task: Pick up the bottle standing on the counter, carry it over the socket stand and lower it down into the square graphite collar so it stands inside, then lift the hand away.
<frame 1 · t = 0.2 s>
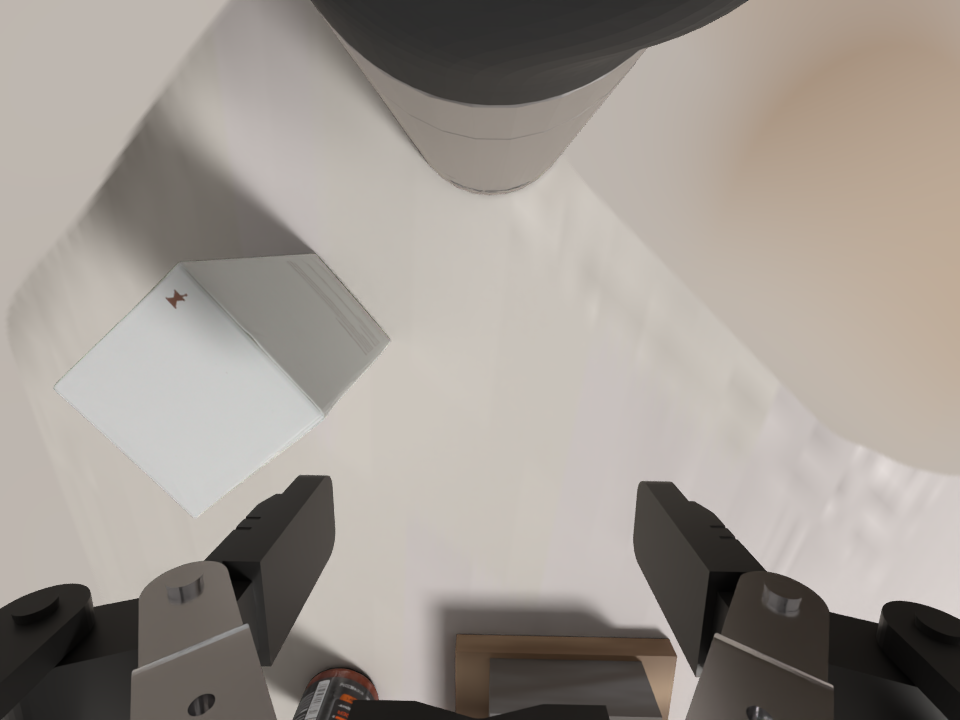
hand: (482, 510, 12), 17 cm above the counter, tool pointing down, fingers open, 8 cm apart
supplement bottle: (344, 691, 36), on the counter
socket stand: (558, 698, 35), on the counter
supplement box: (315, 333, 29), on the counter
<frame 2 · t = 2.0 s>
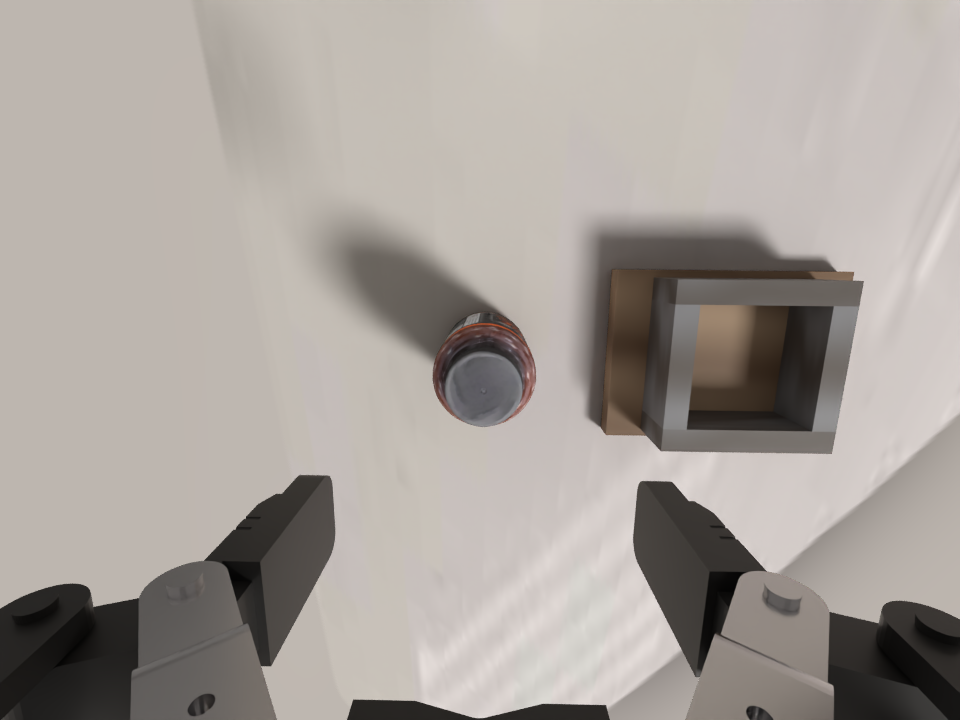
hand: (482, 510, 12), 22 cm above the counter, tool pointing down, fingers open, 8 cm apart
supplement bottle: (485, 349, 34), on the counter
socket stand: (714, 352, 33), on the counter
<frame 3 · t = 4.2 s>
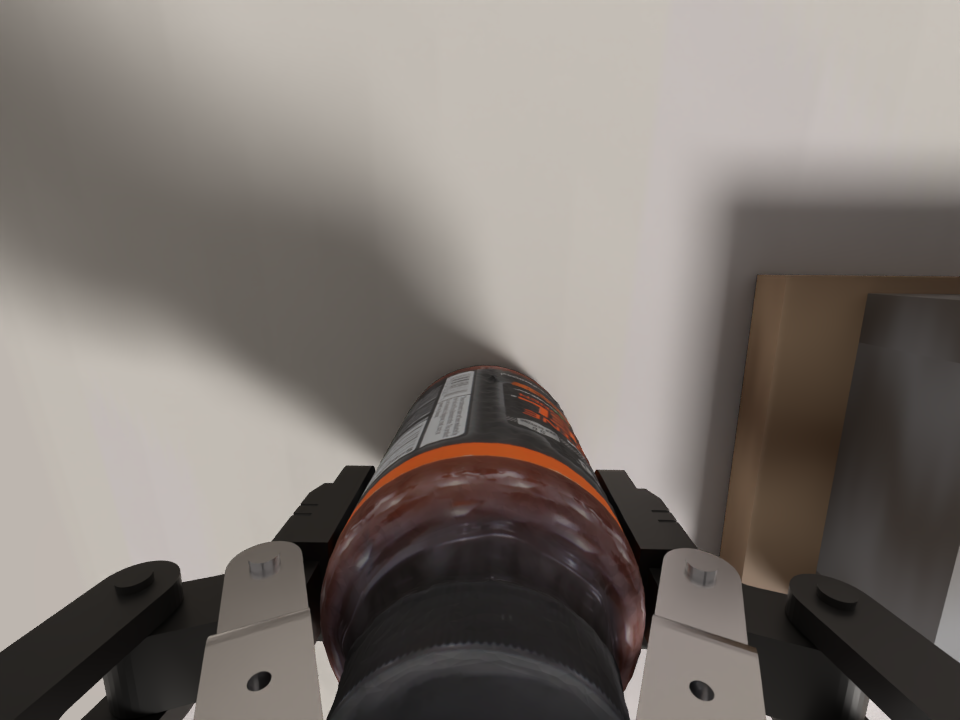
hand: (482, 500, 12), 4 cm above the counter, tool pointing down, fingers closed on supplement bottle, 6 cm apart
supplement bottle: (485, 437, 17), on the counter, touching gripper
socket stand: (959, 447, 16), on the counter
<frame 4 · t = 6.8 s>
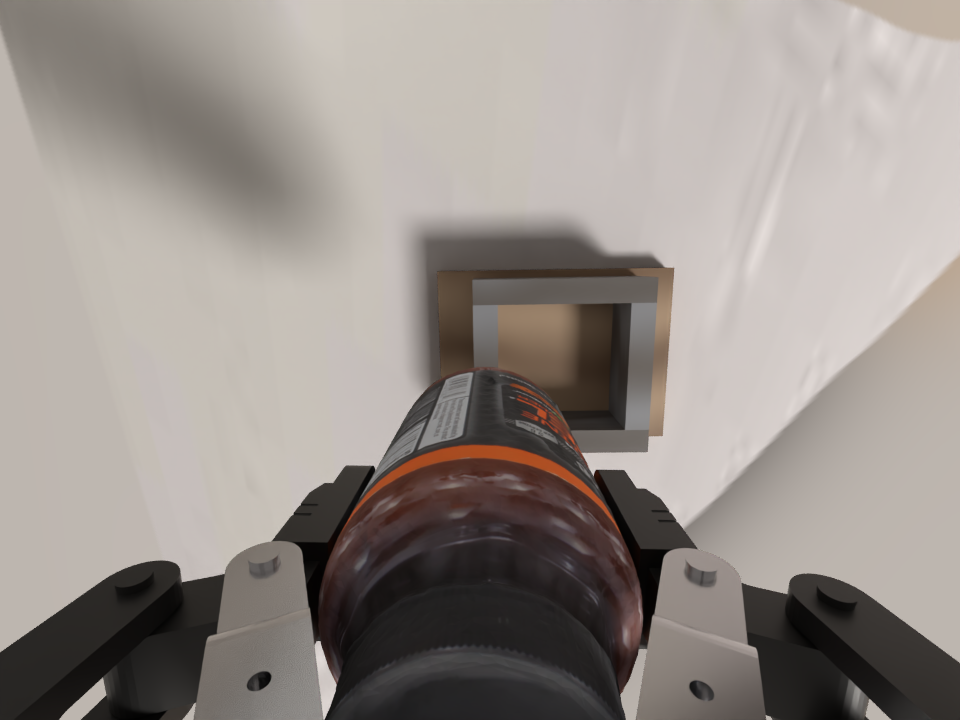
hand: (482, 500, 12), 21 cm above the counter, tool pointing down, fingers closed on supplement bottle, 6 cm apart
supplement bottle: (484, 439, 17), point 17 cm above the counter, touching gripper
socket stand: (550, 352, 33), on the counter
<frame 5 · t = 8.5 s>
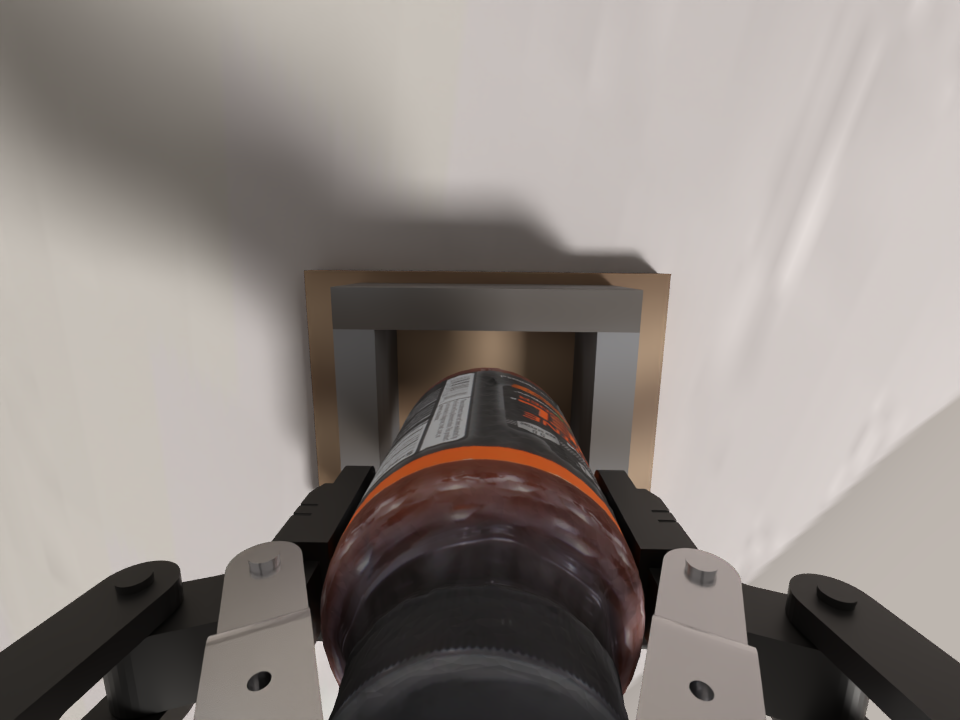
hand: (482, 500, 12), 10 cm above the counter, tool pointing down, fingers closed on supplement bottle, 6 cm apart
supplement bottle: (485, 439, 17), point 6 cm above the counter, touching gripper
socket stand: (484, 394, 22), on the counter
when the fingers open (7 cm above the counter, at t = 9.7 s): supplement bottle drops 1 cm, resting on socket stand.
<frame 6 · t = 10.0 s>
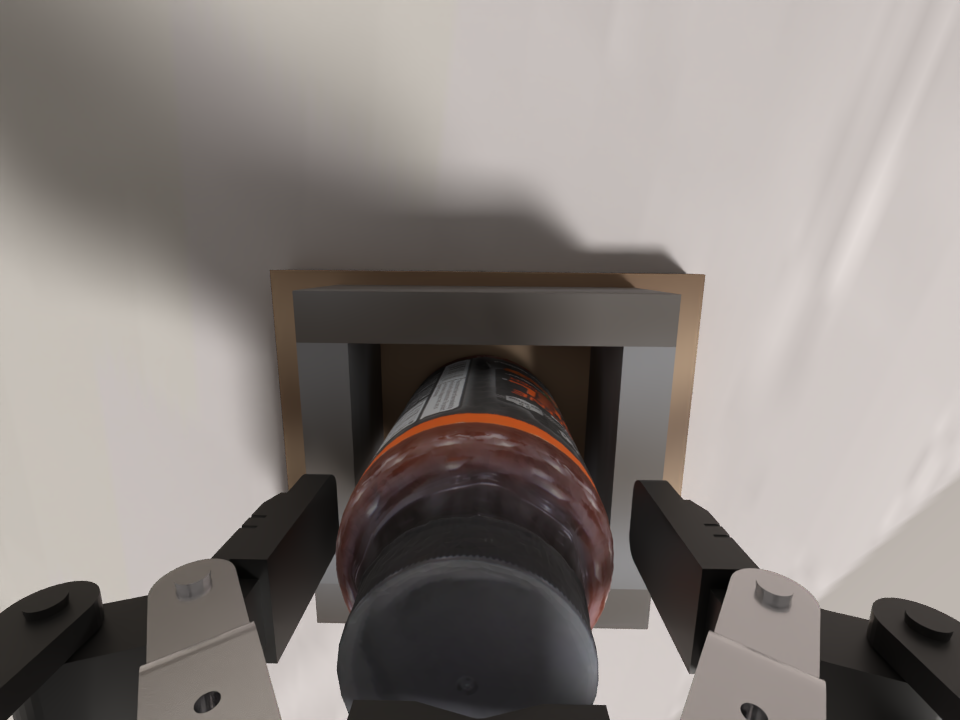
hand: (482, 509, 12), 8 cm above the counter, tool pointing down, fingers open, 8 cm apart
supplement bottle: (482, 422, 18), point 1 cm above the counter, touching socket stand
socket stand: (484, 414, 19), on the counter
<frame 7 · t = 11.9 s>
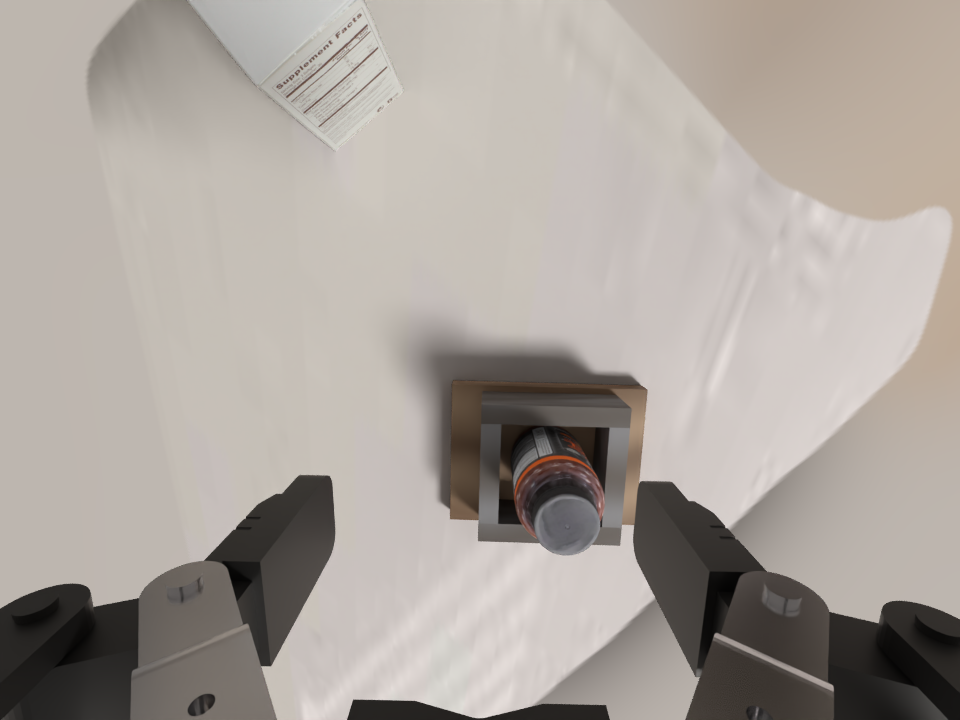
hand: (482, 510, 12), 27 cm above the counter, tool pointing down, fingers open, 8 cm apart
supplement bottle: (544, 454, 38), point 1 cm above the counter, touching socket stand
socket stand: (543, 449, 39), on the counter
supplement box: (341, 86, 35), on the counter
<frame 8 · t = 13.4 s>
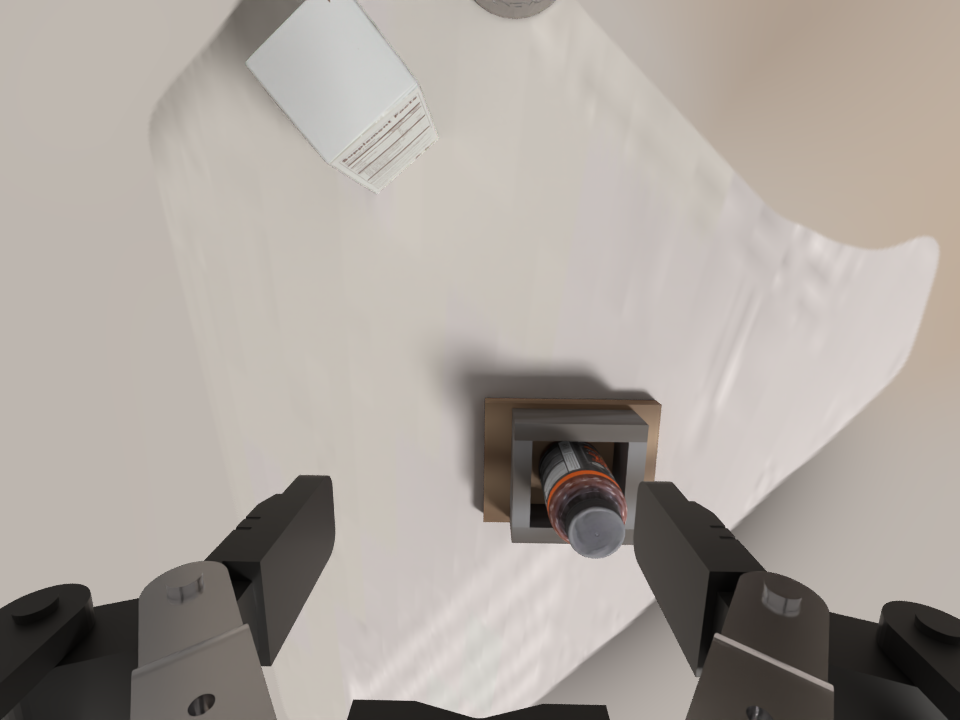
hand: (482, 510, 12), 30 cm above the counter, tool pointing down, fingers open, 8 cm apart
supplement bottle: (568, 463, 42), point 1 cm above the counter, touching socket stand
socket stand: (566, 458, 44), on the counter
supplement box: (381, 134, 38), on the counter
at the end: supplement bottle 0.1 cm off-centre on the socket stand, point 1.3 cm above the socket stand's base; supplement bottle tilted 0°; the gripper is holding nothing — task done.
